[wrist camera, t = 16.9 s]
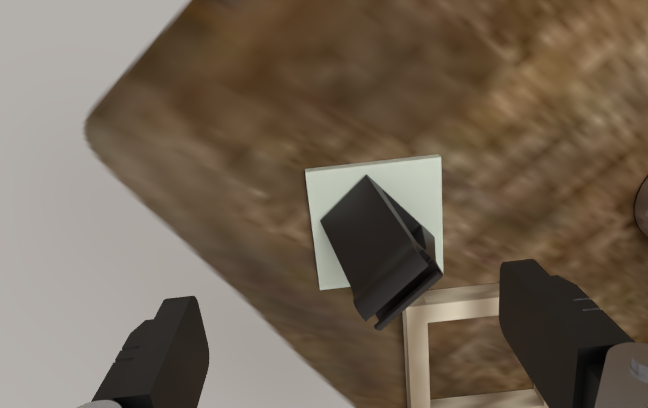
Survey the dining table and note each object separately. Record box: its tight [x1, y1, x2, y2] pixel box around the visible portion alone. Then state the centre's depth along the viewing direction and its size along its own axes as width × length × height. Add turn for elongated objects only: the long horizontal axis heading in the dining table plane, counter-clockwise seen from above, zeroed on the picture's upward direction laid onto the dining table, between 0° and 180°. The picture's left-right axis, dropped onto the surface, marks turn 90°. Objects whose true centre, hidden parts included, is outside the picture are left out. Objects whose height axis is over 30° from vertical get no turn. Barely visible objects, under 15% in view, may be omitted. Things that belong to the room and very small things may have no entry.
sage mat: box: [305, 154, 443, 290], centre depth 44 cm, size 12×12×1 cm
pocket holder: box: [402, 276, 562, 408], centre depth 49 cm, size 16×16×2 cm
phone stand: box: [320, 174, 443, 330], centre depth 38 cm, size 9×6×12 cm, turn 46°
